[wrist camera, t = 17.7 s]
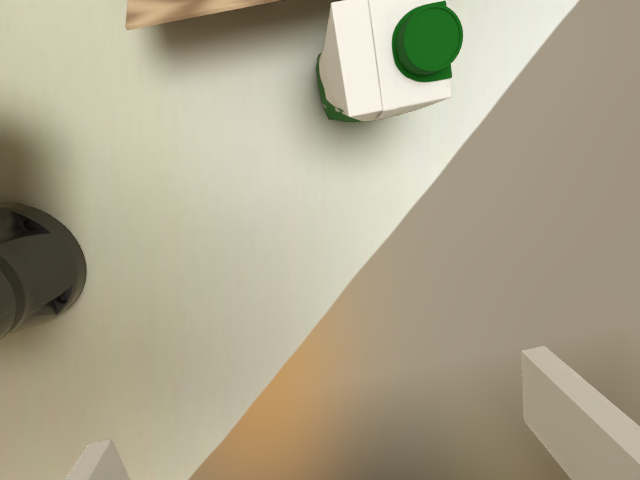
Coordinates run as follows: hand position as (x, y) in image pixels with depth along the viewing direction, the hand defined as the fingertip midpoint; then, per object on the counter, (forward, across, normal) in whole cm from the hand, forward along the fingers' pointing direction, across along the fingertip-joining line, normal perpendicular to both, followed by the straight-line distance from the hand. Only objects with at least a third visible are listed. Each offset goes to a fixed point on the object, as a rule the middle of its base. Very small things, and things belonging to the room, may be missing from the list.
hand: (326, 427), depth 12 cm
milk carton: (+37, +9, +13) cm, 40 cm away
